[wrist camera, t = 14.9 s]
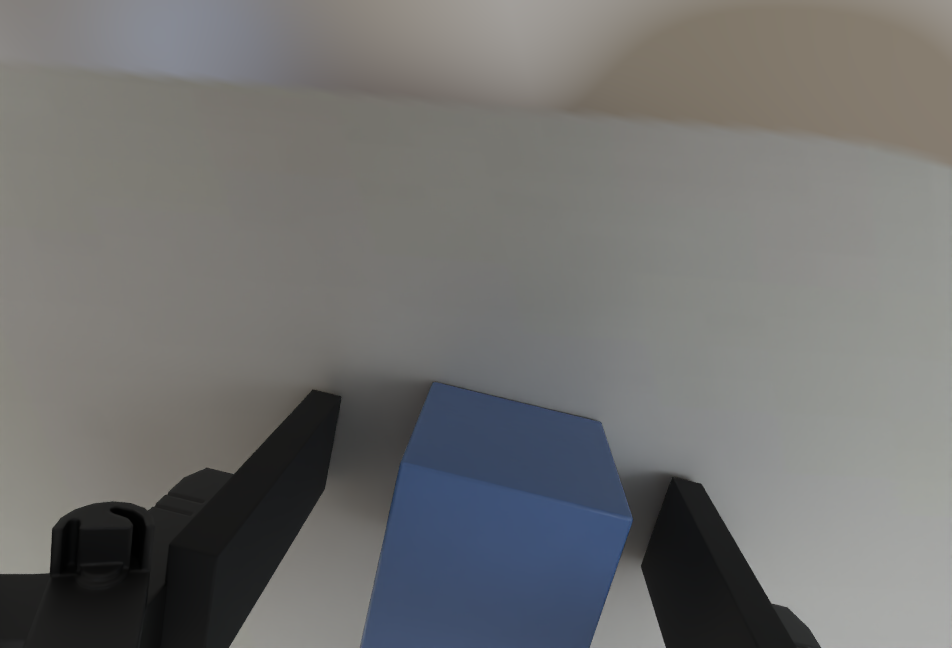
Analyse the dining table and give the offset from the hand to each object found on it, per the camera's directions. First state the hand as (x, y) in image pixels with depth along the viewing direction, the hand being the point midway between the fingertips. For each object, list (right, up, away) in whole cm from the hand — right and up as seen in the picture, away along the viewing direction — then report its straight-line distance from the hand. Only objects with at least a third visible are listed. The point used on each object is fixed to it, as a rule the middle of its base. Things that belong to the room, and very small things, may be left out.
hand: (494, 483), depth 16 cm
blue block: (0, 0, 0) cm, 0 cm away
